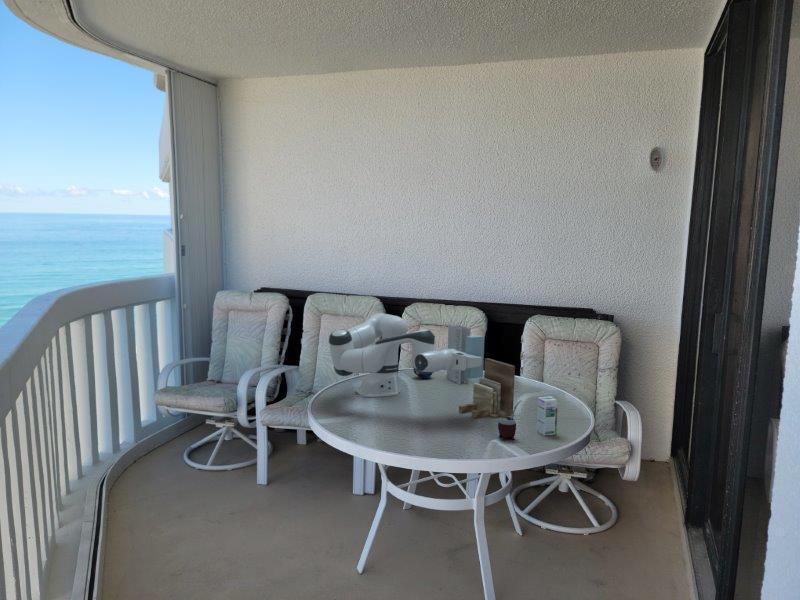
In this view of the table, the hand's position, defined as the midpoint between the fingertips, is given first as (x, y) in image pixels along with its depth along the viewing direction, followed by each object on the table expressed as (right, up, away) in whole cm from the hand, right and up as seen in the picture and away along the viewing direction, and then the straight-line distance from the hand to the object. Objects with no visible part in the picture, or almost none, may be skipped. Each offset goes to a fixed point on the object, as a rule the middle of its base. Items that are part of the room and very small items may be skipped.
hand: (476, 356), depth 252 cm
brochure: (-2, -20, +61) cm, 65 cm away
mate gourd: (+9, -29, -28) cm, 41 cm away
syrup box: (+26, -29, -21) cm, 44 cm away
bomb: (-20, -19, +67) cm, 72 cm away
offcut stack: (+5, -24, +7) cm, 26 cm away
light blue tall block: (-1, -9, +1) cm, 9 cm away
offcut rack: (+4, -26, +5) cm, 26 cm away
